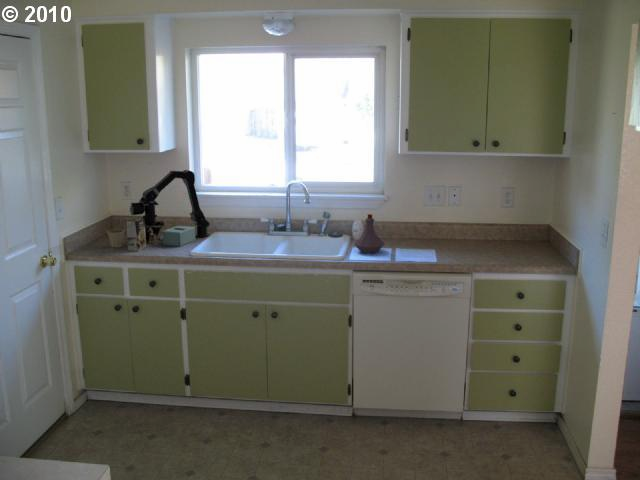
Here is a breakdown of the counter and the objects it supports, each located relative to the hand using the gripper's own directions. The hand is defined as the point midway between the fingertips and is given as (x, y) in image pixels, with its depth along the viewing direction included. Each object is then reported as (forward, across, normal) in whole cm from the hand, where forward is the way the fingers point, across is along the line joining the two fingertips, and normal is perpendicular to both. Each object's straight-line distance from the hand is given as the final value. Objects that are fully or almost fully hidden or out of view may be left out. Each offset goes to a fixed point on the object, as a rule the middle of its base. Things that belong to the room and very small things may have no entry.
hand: (151, 240), depth 366 cm
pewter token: (+2, -11, +2) cm, 11 cm away
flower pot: (+1, +15, -12) cm, 19 cm away
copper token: (+1, 0, 0) cm, 1 cm away
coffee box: (+1, +16, +2) cm, 16 cm away
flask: (+1, -24, +120) cm, 122 cm away
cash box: (+1, -5, +15) cm, 16 cm away
